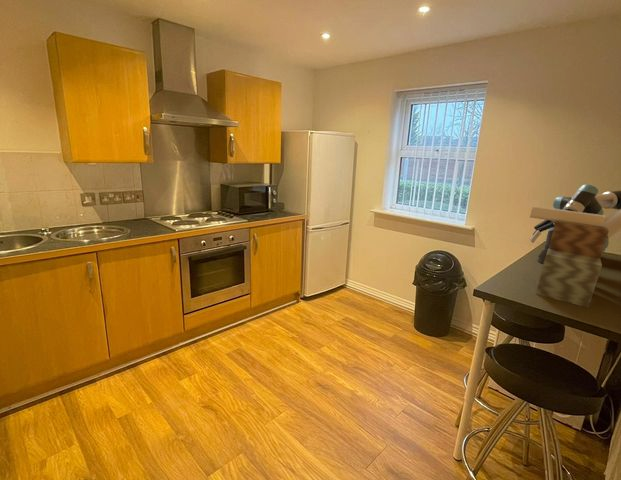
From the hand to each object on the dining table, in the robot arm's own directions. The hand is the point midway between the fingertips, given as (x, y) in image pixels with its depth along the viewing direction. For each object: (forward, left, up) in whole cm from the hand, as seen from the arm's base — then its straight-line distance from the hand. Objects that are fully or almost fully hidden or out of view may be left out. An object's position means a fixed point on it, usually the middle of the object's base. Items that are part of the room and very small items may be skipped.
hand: (543, 245), depth 167 cm
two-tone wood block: (+10, +21, -15) cm, 28 cm away
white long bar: (+8, +12, +15) cm, 21 cm away
